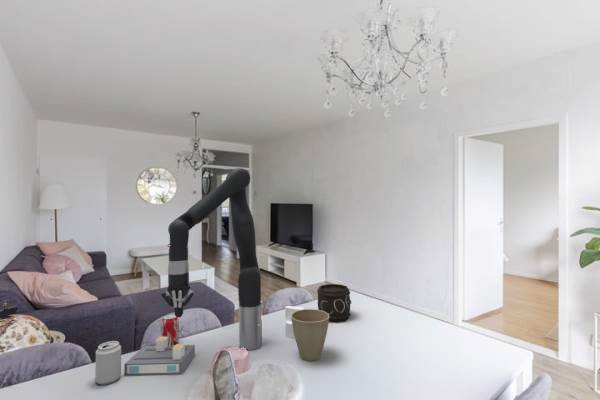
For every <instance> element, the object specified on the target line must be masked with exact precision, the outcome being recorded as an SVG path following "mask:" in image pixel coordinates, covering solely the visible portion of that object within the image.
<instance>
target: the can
mask: <svg viewBox="0 0 600 400" xmlns="http://www.w3.org/2000/svg"><path fill="white" fill-rule="evenodd" d="M121 376H122V345H120V342H119V341H117V340H112V341H110V340H109V341H106V342H103V343H100V344H99V345H98V346H97V349H96V350H95V383H97V384H99V385H100V386H101V385H103V386H104V385H109V384H112V383H114V382H116V381H118V379H120V378H121Z"/></svg>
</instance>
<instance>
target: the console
mask: <svg viewBox="0 0 600 400" xmlns="http://www.w3.org/2000/svg"><path fill="white" fill-rule="evenodd" d="M174 346H175V345H174ZM174 346H168V347H167V348H166V349H165V350H164V351H156V345H144V346H143V347H142V348H140V349H139V350H138V351H137V352H136V353H135V354H134V355H132V357H130V358H129V359H128V360H127V361H126V362H125V363H124V364H123V366H124V367H123V368H124V373H123V374H124V376H154V375H155V376H157V375H182V374H183V373H184V372H185V370H186V369H187V367H188V366H189V364H190V363H191V361H192V360H193V358H194V357H195V355H196V347H195V346H196V345H195V344H185V355H184V356H183V358H182V359H181V360H173V347H174Z"/></svg>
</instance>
